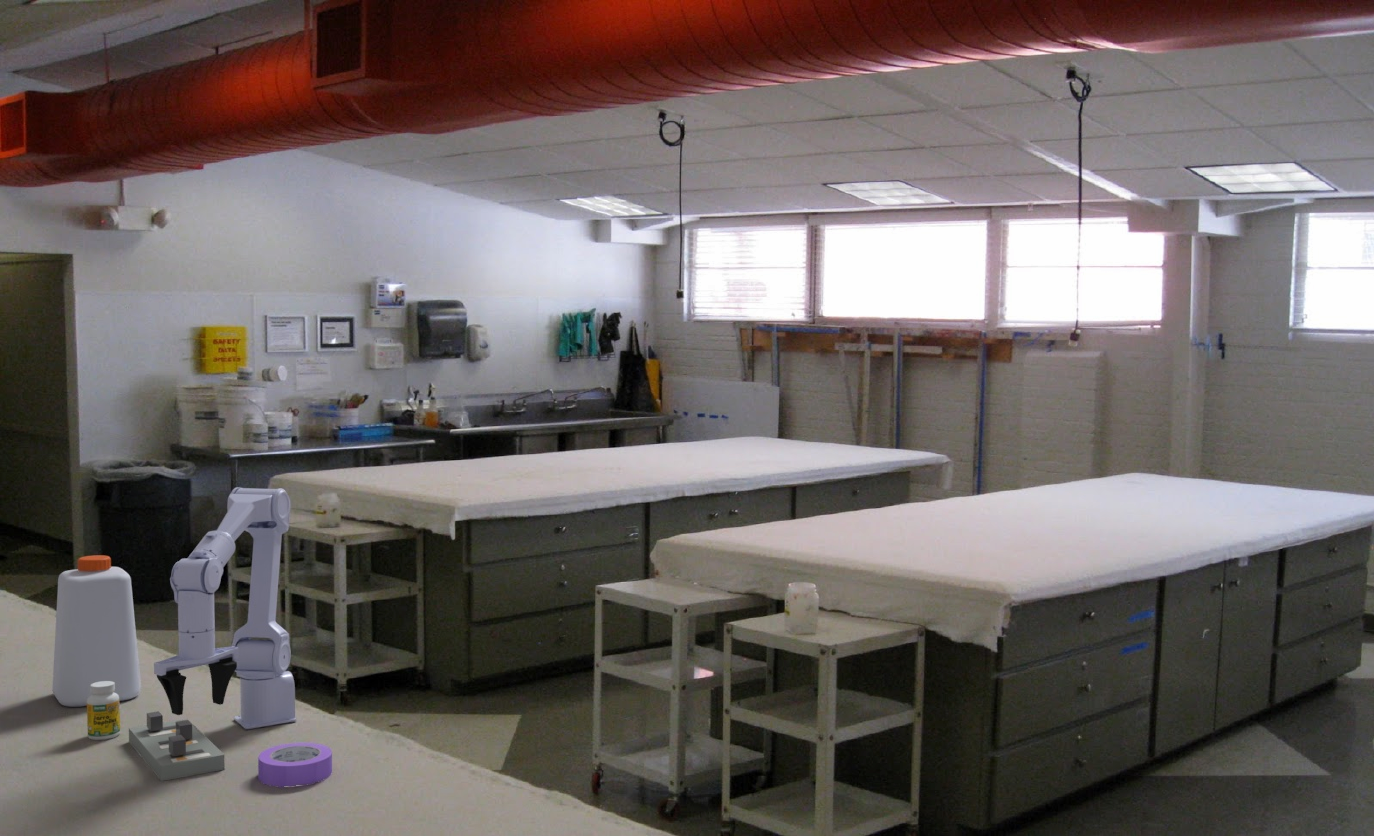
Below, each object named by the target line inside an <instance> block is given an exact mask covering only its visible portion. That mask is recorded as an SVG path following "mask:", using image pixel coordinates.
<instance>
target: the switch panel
mask: <svg viewBox="0 0 1374 836" xmlns="http://www.w3.org/2000/svg"><path fill="white" fill-rule="evenodd" d="M183 720H188V721H189V722H190V723H191V724H192V739H186V754H185V755H179V756H172V755H171V753H170V752H169V737H171V736H176V722H177V721H183ZM128 743H130V745H131V746H132V747H133V749H134V750H135V751H136V752H137V753H138V754H139V756H140V757H141V758H142V759H143V761H144V762H145V763H146V764H147V765H148V766H149V768H150V770H152V771H153V773H154V774H155V775H156V776H157V777H158V779H159V781H161V782H165V781H169V780H173V779H180V778H186V777H191V776H196V775H200V774H201V775H202V774H207V773H212V772H218V771H224V770H225V769H226V768H225V753H223V752H222V751H221V749H219V748H218V747H217V745H215V744H214V743H213V742H212V741H211V740H210V739H209V738H208V737H207V736H206V735H205V734H204V733H202V731H201V730H200V729H198V727H197V726H196V725H194V723H192V721H190V719H188V718H183V719H175V720H170V721H163V729H162V730H156V731H150V730H149V729H148V728H147V724H145V725H138V726H133V727H128Z"/></svg>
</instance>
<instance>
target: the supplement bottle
mask: <svg viewBox="0 0 1374 836" xmlns="http://www.w3.org/2000/svg"><path fill="white" fill-rule="evenodd" d="M114 690H115V683H114V682H112V681H101V682H96V683H93V684H91V685H90V692H91V693H92V695H91V696H89V697H88V699H87V706H86V718H87V721H86V722H87V737H88V738H89V739H90V740H92V741H93V740H94V741H105V740H110V739H113V738H116V737H118V736H119V735H120V734H121V711H120V710H121V709H120V701H119V696H118V694H116V693H114V692H113V691H114Z"/></svg>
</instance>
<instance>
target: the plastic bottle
mask: <svg viewBox="0 0 1374 836" xmlns="http://www.w3.org/2000/svg"><path fill="white" fill-rule="evenodd" d="M57 578H58V579H57V597H56V615H55V633H54V634H55V635H54V651H53V652H54V653H53V655H54V656H53V669H52V670H53V673H52V675H53V676H52V693H53V696H55V698H56V700H57V701H58V703H59V704H60V705H62V706H64V707H70V708H79V707H80V708H81V707H87V699H88V697H89V696H91V695H92V693H91V692H90V685H91V684H93V683H96V682H101V681H112V682H114V683H115V690H114V691H113V692H114V693H116V694H118V696H119V702H122V701H128V700H131V699H134V698H136V697H137V696H138V695H139V694H140V693H141V691H142V681H141V673H140V672H141V670H140V661H139V650H138V639H137V631H136V630H137V629H136V621H135V620H136V619H135V610H134V609H135V608H134V599H133V598H134V597H133V587H132V577H131V576H130V574H129V573H128V572H127V571H126V570H124V569H123V568H121V567H119V566H112V558H111V557H110V556H109V555H103V554H102V555H100V554H99V555H98V554H96V555H86V556H82V557H79V558H78V559H77V569H70V570H64V571H63V572H61V573H60V574H59V575H58V577H57Z"/></svg>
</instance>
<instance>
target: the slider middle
mask: <svg viewBox="0 0 1374 836" xmlns="http://www.w3.org/2000/svg"><path fill="white" fill-rule="evenodd" d="M188 720H189V719H188ZM188 720H183V721H177V722H176V736H177V735H182V736H183V737H184V738H185V739H192V724H193V723H192V722H191V721H190V720H189V721H190V722H191V723H192V724H191V723H190V722H189V721H188Z"/></svg>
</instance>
